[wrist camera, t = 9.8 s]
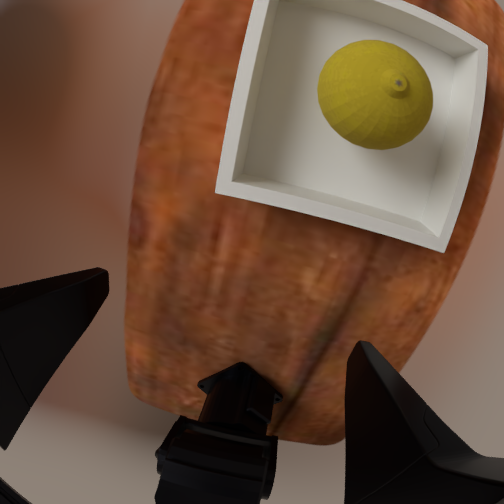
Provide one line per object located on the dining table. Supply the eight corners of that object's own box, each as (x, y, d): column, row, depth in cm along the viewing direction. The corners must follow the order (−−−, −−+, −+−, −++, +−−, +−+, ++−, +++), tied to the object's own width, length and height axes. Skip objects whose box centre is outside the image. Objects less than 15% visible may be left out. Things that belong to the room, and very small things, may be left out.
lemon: (300, 121, 16) (298, 109, 9) (334, 48, 14) (354, -7, 7) (378, 162, 16) (429, 184, 9) (411, 91, 14) (476, 71, 7)
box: (421, 231, 18) (443, 253, 15) (231, 181, 19) (215, 192, 15) (459, 56, 12) (487, 45, 9) (270, -5, 13) (262, -32, 10)
